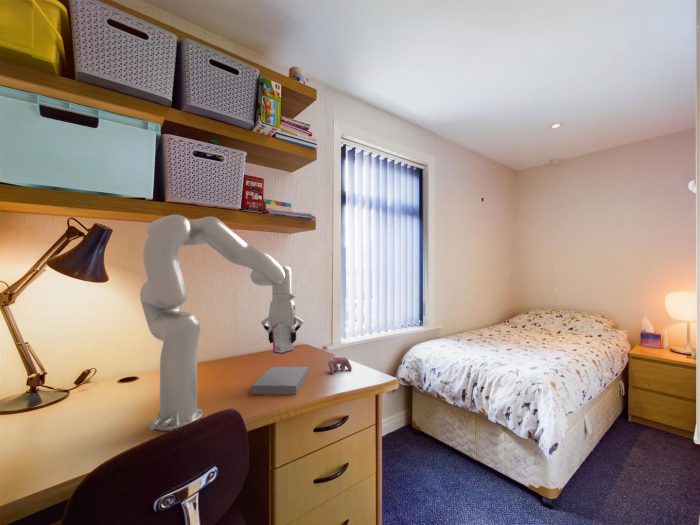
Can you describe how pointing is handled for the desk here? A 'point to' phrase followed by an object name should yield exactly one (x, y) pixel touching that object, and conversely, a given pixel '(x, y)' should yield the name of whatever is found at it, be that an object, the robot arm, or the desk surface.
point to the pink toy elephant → (339, 360)
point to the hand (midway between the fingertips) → (282, 342)
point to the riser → (280, 380)
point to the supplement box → (282, 339)
